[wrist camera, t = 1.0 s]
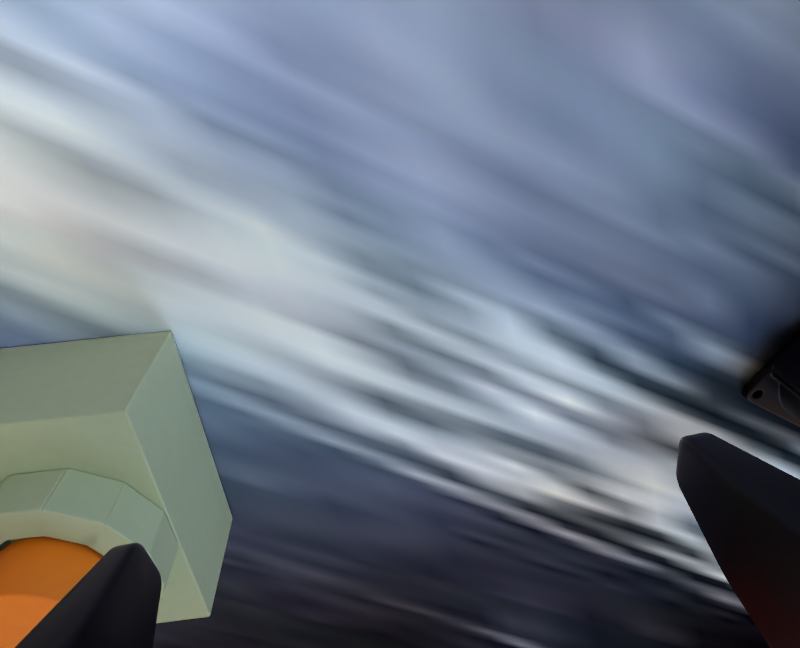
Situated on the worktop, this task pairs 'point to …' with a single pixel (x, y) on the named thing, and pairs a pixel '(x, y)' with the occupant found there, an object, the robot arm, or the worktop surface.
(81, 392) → the button base
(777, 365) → the robot arm
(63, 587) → the button
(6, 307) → the worktop surface
